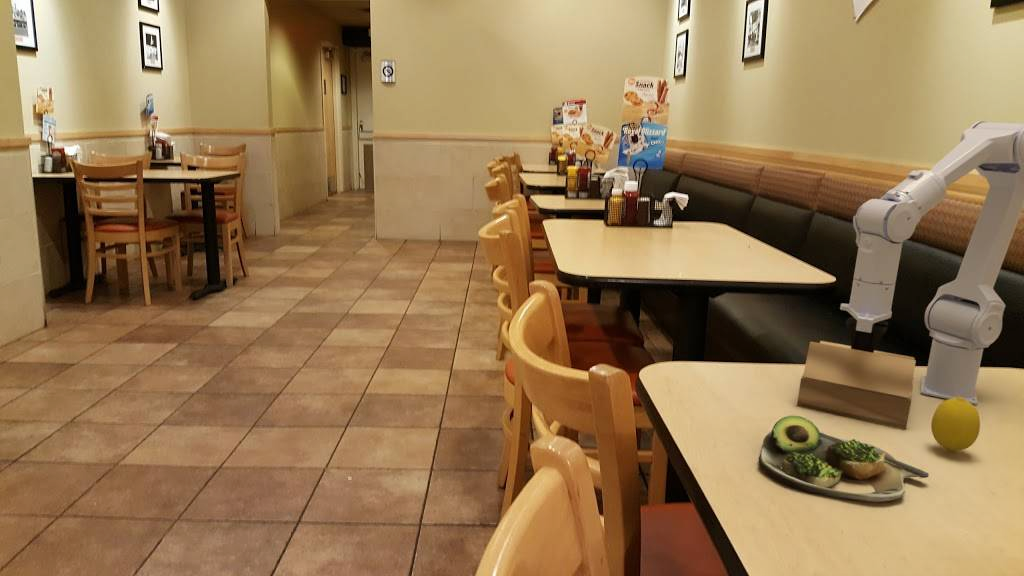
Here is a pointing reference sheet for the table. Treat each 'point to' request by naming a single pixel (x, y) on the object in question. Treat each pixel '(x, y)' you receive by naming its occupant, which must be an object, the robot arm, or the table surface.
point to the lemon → (955, 424)
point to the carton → (854, 402)
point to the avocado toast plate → (831, 462)
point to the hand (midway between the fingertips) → (859, 366)
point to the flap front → (860, 369)
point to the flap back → (873, 352)
